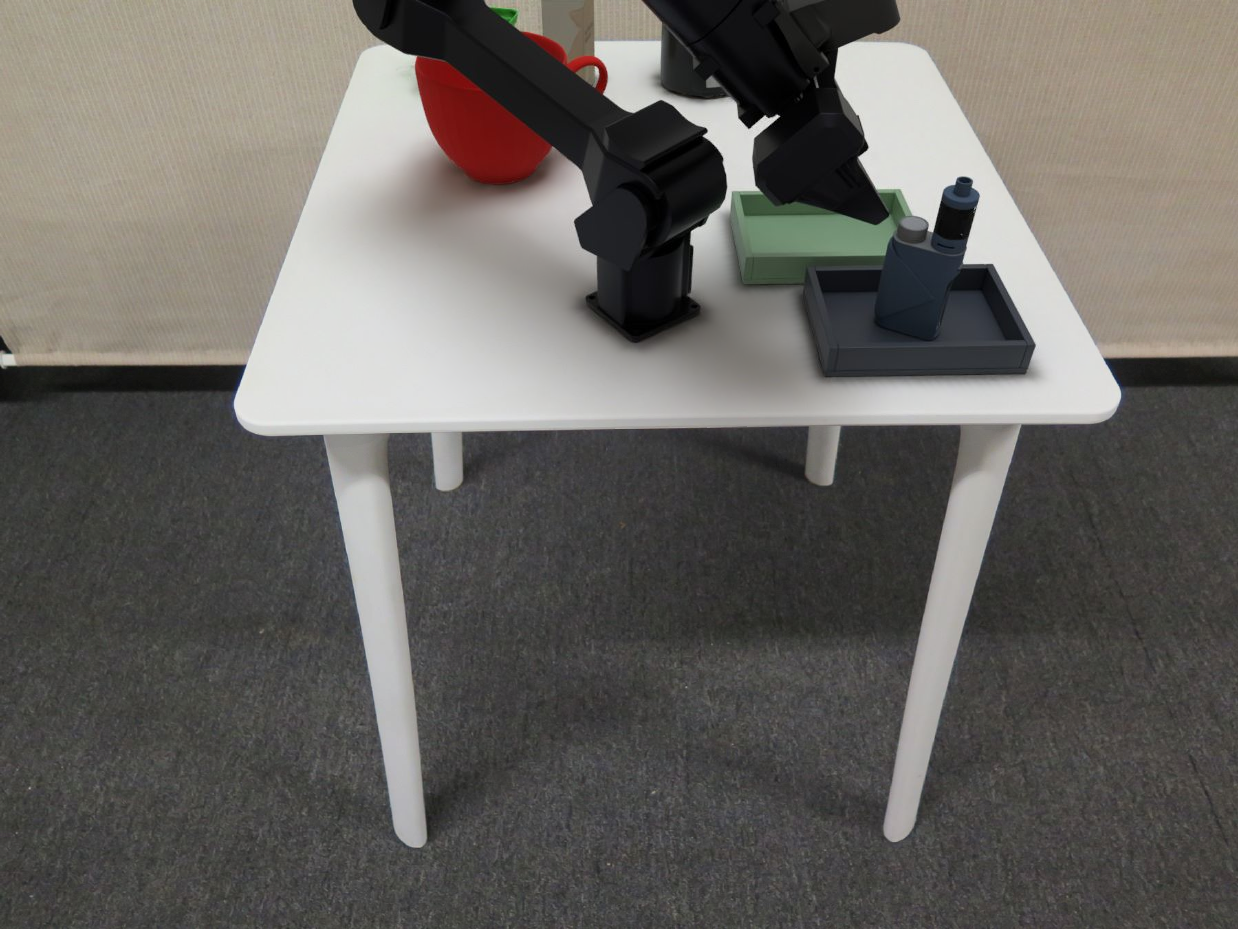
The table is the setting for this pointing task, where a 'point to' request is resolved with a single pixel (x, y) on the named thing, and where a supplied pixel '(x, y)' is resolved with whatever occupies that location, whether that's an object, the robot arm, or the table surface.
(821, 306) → the charcoal tray
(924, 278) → the vaping device
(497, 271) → the table surface
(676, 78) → the ink bottle
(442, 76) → the ceramic cup
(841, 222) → the sage tray
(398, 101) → the table surface
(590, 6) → the box
